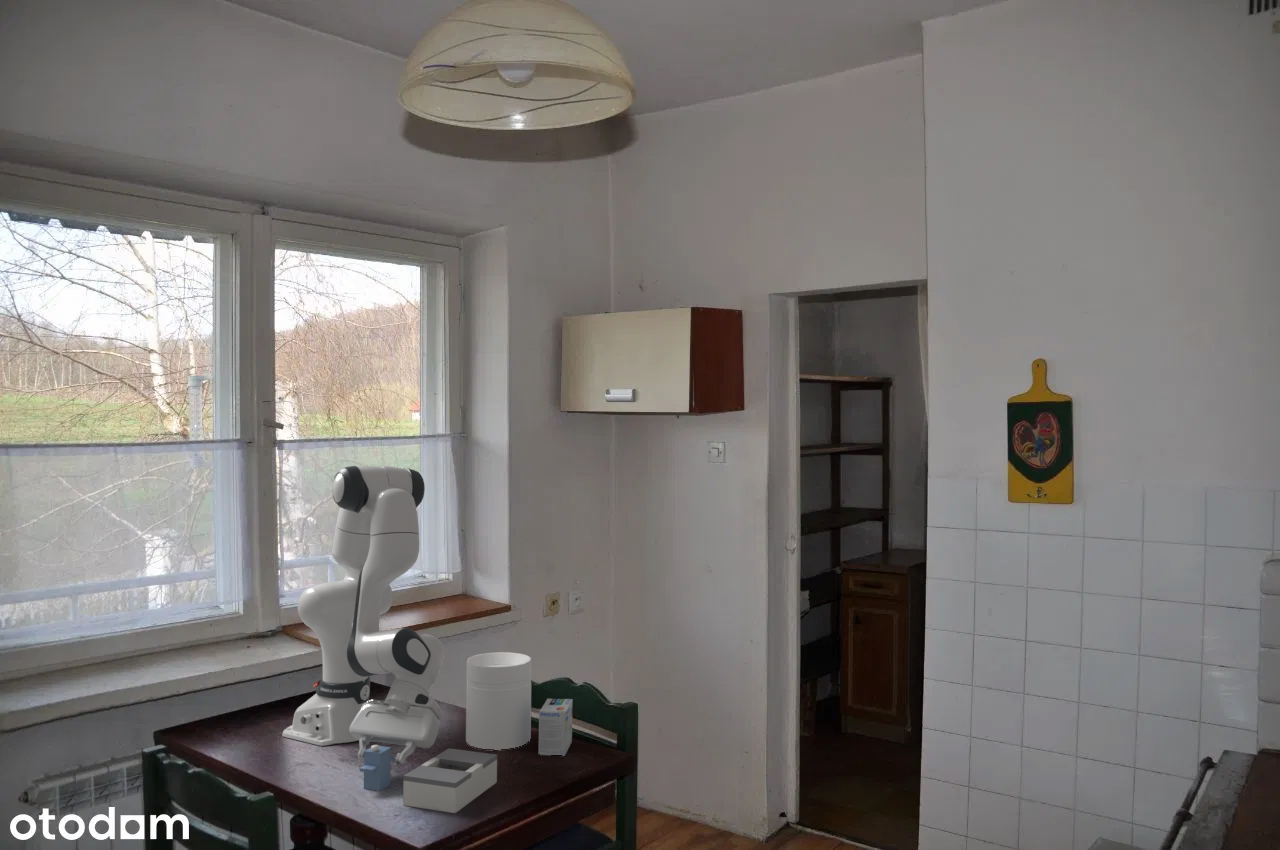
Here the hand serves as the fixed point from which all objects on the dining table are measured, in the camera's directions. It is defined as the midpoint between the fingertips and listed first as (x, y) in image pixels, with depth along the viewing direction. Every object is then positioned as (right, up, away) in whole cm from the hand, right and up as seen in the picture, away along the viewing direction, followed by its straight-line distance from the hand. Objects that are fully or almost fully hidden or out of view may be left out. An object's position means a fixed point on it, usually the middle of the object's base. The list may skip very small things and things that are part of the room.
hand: (379, 760), depth 201 cm
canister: (+21, -6, +31) cm, 38 cm away
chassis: (+16, -6, -4) cm, 18 cm away
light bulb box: (+36, -6, +25) cm, 44 cm away
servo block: (0, -5, 0) cm, 6 cm away
